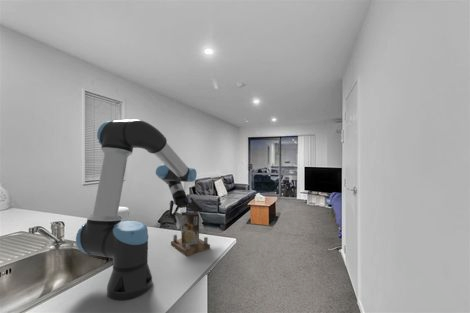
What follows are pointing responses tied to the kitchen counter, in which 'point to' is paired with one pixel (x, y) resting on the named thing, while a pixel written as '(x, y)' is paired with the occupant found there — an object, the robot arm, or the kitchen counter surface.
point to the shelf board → (190, 246)
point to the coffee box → (189, 228)
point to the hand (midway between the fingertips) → (190, 225)
